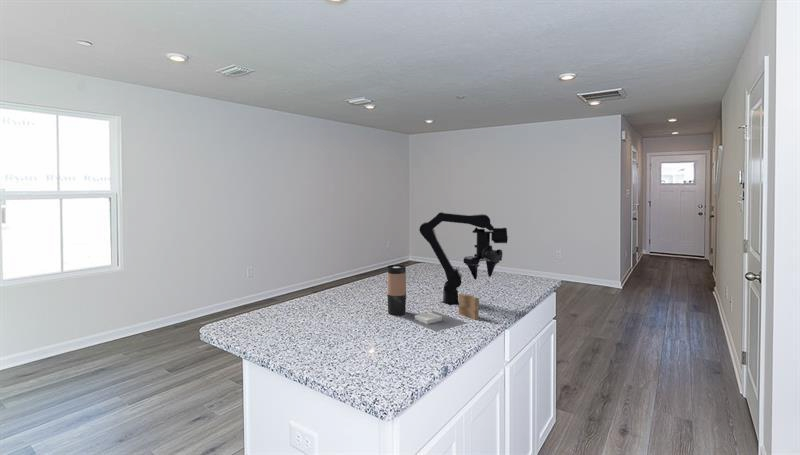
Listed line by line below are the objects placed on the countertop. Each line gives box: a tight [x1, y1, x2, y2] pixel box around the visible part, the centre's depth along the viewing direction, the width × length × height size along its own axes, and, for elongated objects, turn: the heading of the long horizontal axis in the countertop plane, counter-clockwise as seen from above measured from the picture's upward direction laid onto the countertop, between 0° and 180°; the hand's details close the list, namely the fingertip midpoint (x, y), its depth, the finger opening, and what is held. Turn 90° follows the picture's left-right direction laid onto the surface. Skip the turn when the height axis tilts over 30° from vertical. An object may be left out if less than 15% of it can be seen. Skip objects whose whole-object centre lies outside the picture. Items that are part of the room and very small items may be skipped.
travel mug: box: [386, 264, 407, 317], centre depth 174 cm, size 8×8×20 cm
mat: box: [403, 310, 468, 332], centre depth 165 cm, size 20×16×1 cm
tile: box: [415, 311, 442, 324], centre depth 166 cm, size 8×2×8 cm
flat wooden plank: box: [458, 292, 480, 321], centre depth 169 cm, size 9×2×9 cm, turn 36°
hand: (482, 278), depth 188 cm, fingers open, 9 cm apart
